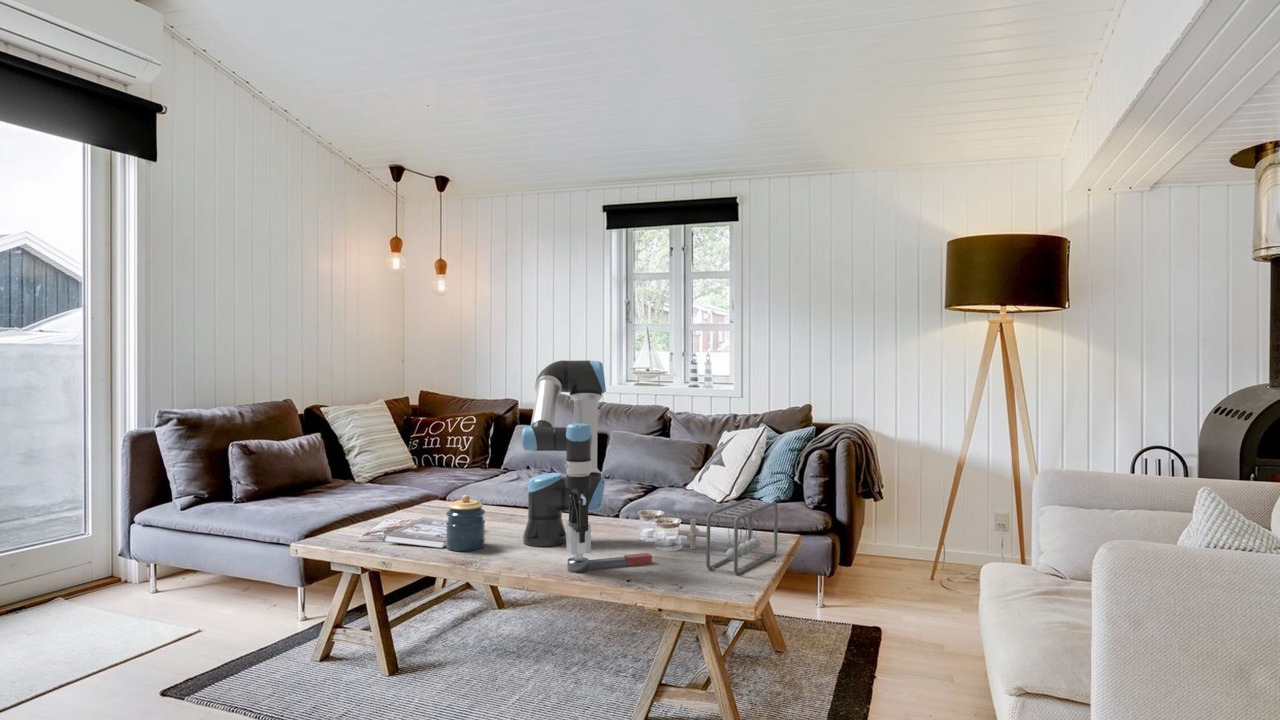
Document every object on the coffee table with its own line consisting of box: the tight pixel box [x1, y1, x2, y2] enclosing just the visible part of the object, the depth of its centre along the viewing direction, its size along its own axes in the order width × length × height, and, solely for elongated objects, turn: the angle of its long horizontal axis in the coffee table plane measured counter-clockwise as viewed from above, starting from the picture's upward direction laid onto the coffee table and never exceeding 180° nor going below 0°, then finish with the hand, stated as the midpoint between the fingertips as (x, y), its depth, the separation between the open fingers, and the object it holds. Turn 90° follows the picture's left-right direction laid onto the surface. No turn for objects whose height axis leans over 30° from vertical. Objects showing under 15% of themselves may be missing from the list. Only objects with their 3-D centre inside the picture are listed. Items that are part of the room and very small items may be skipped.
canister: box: [445, 494, 486, 552], centre depth 250 cm, size 13×13×18 cm
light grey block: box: [565, 522, 592, 555], centre depth 224 cm, size 6×6×8 cm
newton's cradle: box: [705, 497, 779, 576], centre depth 233 cm, size 30×10×18 cm, turn 146°
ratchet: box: [567, 552, 653, 574], centre depth 228 cm, size 6×27×8 cm, turn 110°
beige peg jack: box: [677, 518, 707, 550], centre depth 248 cm, size 10×10×10 cm
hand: (578, 550), depth 224 cm, fingers closed on light grey block, 6 cm apart
